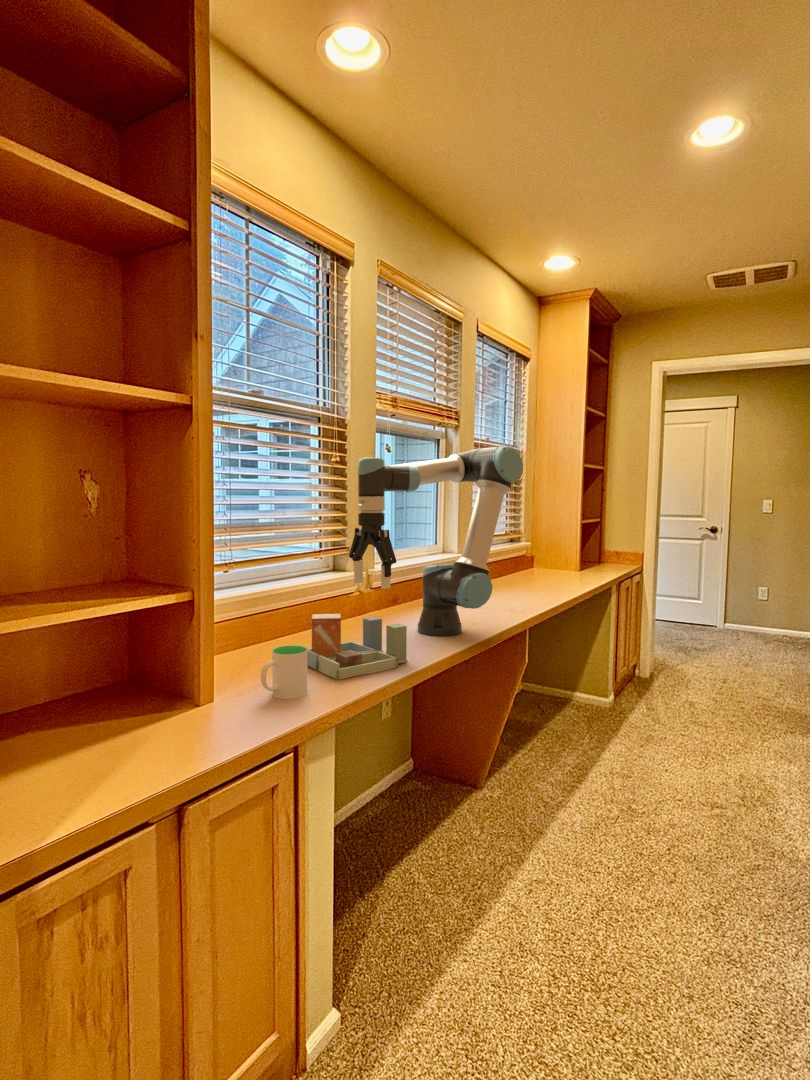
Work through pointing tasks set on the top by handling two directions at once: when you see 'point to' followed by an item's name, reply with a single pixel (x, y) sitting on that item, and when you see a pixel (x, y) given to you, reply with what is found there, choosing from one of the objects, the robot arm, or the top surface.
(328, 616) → the small box
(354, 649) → the tray
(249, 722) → the top surface
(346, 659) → the walnut block
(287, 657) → the mug
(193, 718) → the top surface
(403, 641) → the tray
